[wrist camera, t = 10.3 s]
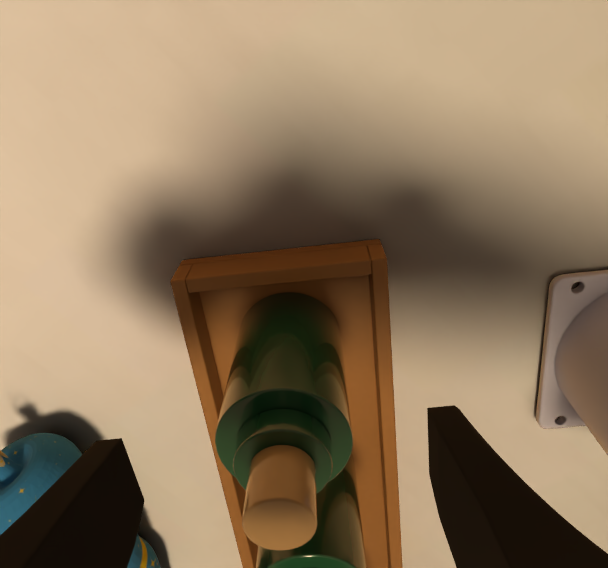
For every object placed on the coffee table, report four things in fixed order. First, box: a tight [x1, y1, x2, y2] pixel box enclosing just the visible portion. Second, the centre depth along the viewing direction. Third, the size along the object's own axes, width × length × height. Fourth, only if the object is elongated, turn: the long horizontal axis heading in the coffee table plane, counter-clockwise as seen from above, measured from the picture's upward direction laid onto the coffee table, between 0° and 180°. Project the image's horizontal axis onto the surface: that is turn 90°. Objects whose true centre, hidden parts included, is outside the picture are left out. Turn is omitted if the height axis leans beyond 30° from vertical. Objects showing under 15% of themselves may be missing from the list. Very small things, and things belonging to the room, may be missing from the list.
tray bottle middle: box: [256, 453, 367, 568], centre depth 21 cm, size 4×4×10 cm
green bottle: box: [215, 292, 353, 551], centre depth 18 cm, size 4×4×10 cm
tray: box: [170, 239, 402, 568], centre depth 25 cm, size 8×23×2 cm, turn 7°
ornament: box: [0, 433, 161, 568], centre depth 25 cm, size 5×5×15 cm
